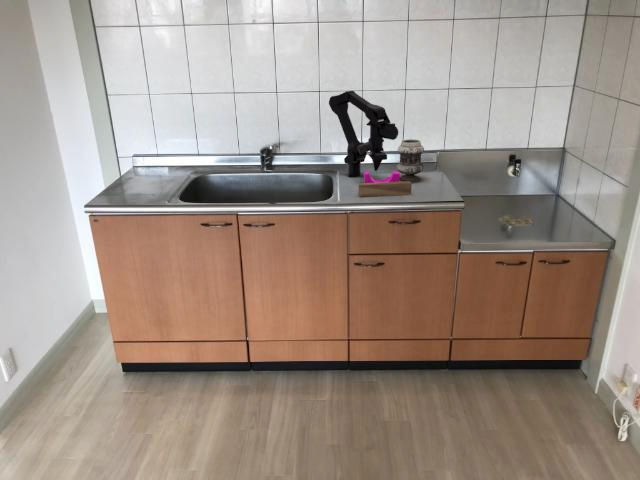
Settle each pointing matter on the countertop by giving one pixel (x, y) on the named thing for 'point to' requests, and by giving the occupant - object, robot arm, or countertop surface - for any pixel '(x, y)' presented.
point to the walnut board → (384, 189)
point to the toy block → (394, 178)
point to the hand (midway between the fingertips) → (375, 170)
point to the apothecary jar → (410, 159)
